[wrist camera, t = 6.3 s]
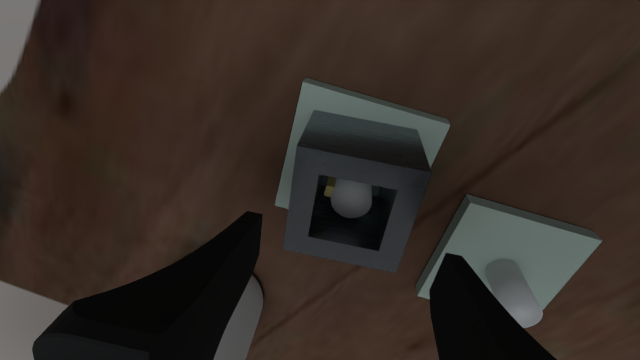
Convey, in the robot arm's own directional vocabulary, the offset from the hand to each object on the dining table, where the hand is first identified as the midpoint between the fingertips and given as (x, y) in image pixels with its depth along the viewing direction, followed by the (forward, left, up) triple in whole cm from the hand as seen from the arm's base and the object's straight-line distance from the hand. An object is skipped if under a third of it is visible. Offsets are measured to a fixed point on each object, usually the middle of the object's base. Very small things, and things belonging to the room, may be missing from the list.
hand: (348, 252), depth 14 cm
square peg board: (-11, +4, -8) cm, 14 cm away
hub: (0, 0, -7) cm, 7 cm away
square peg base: (0, 0, -8) cm, 8 cm away
